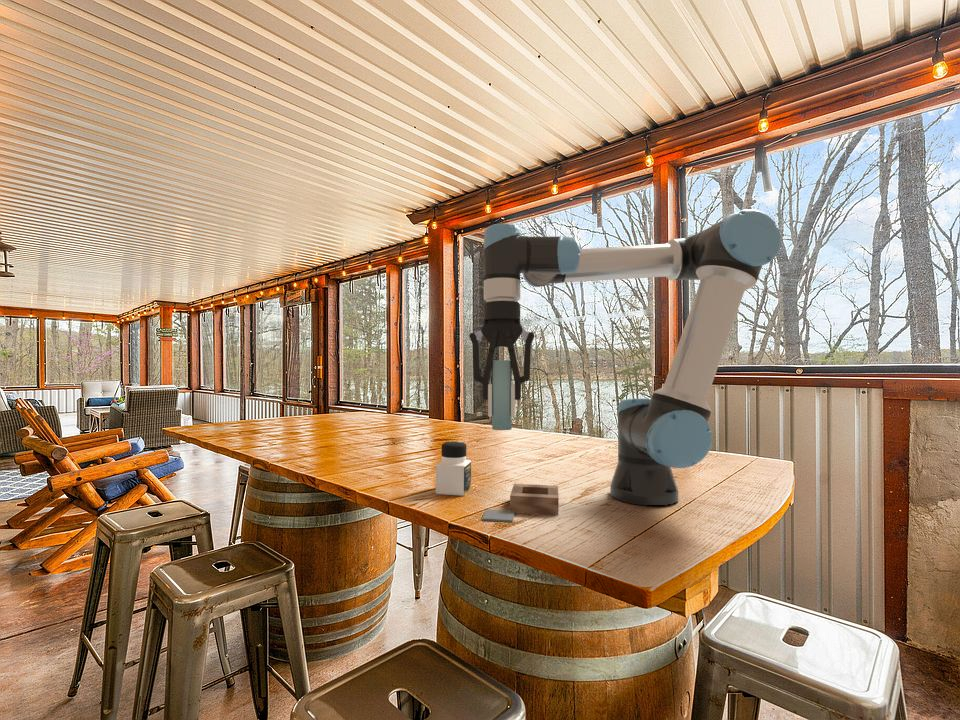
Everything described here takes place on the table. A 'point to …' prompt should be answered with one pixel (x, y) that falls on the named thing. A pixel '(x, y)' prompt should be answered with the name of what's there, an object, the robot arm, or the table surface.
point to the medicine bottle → (453, 470)
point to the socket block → (534, 499)
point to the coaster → (498, 515)
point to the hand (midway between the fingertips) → (502, 415)
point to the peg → (501, 395)
